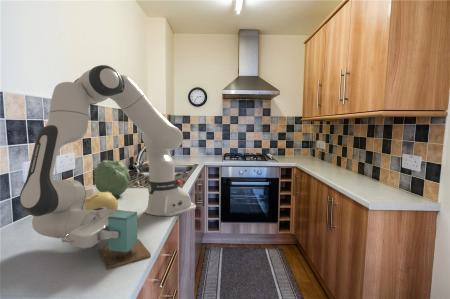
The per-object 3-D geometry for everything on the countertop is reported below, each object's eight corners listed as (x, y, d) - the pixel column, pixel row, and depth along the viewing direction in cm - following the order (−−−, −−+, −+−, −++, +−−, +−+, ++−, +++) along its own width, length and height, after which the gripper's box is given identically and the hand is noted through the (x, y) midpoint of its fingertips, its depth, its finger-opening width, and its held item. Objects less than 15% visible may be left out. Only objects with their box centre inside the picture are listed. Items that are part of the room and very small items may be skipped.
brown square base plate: (115, 239, 86) (115, 216, 86) (162, 243, 84) (162, 220, 83) (79, 266, 70) (77, 238, 69) (136, 273, 67) (135, 244, 66)
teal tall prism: (120, 241, 80) (119, 210, 79) (137, 243, 79) (137, 211, 78) (109, 250, 74) (108, 217, 73) (127, 252, 73) (126, 218, 72)
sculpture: (106, 210, 115) (105, 187, 114) (123, 215, 109) (122, 191, 108) (81, 218, 105) (79, 193, 104) (98, 224, 99) (97, 197, 98)
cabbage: (126, 200, 130) (125, 162, 128) (88, 201, 129) (86, 162, 127) (134, 192, 145) (133, 157, 144) (100, 192, 144) (99, 157, 142)
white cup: (99, 208, 117) (98, 187, 116) (80, 213, 111) (79, 190, 110) (93, 205, 122) (92, 184, 121) (74, 208, 117) (73, 187, 116)
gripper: (56, 229, 68) (103, 233, 65) (105, 205, 88) (142, 208, 85) (57, 251, 68) (104, 256, 66) (105, 223, 88) (142, 226, 86)
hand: (126, 229), depth 76 cm, fingers closed on teal tall prism, 6 cm apart
